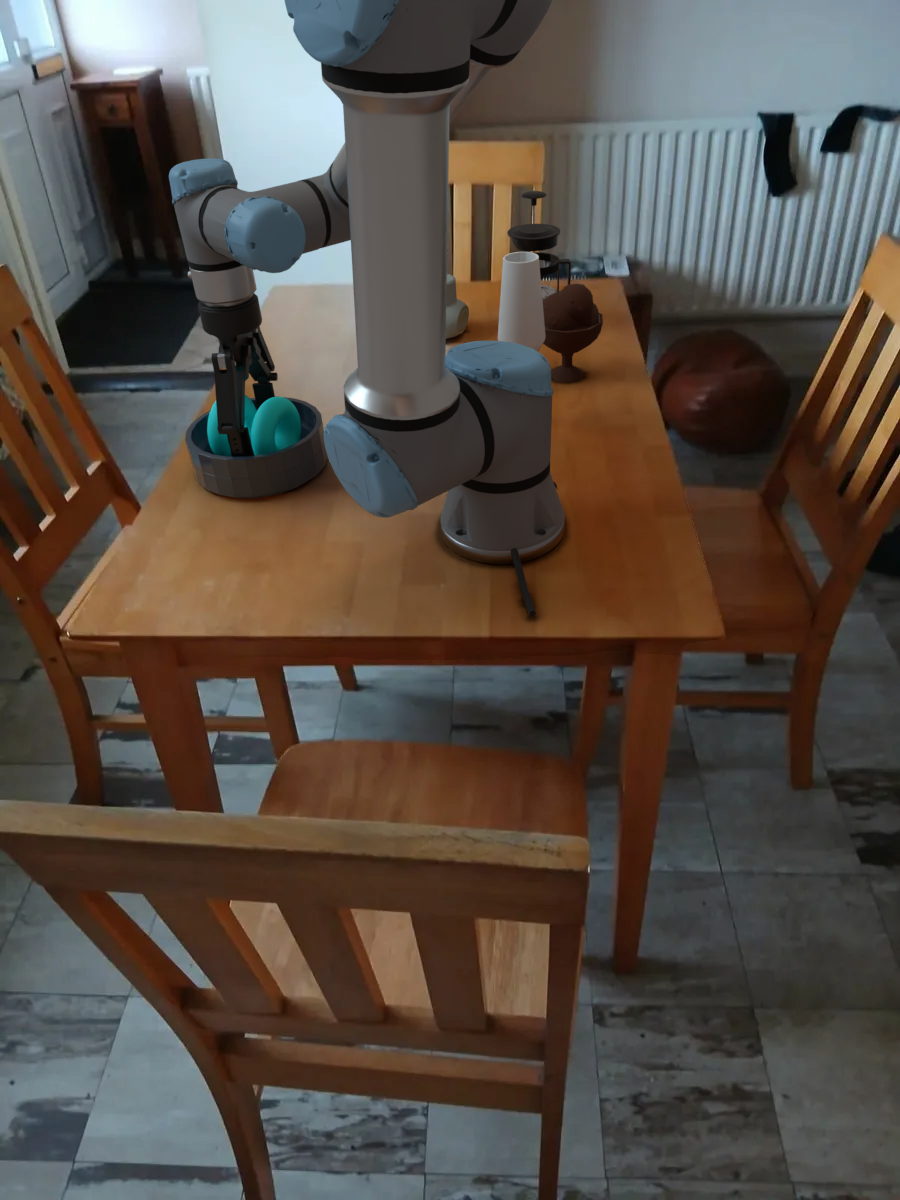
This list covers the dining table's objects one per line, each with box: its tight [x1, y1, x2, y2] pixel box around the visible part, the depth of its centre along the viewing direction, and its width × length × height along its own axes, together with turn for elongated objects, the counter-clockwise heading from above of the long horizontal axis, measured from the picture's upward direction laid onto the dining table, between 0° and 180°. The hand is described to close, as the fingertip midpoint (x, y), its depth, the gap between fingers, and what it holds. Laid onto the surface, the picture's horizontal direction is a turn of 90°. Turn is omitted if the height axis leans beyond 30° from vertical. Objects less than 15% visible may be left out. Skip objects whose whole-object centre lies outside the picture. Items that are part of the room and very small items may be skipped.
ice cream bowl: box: [542, 283, 604, 384], centre depth 141 cm, size 11×11×15 cm
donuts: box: [207, 394, 301, 457], centre depth 123 cm, size 10×10×10 cm
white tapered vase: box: [497, 251, 545, 352], centre depth 126 cm, size 7×7×24 cm
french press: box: [506, 190, 572, 301], centre depth 155 cm, size 12×9×23 cm
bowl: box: [184, 395, 328, 499], centre depth 125 cm, size 19×19×6 cm
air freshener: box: [446, 273, 470, 340], centre depth 159 cm, size 11×8×10 cm
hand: (259, 448), depth 125 cm, fingers open, 13 cm apart
